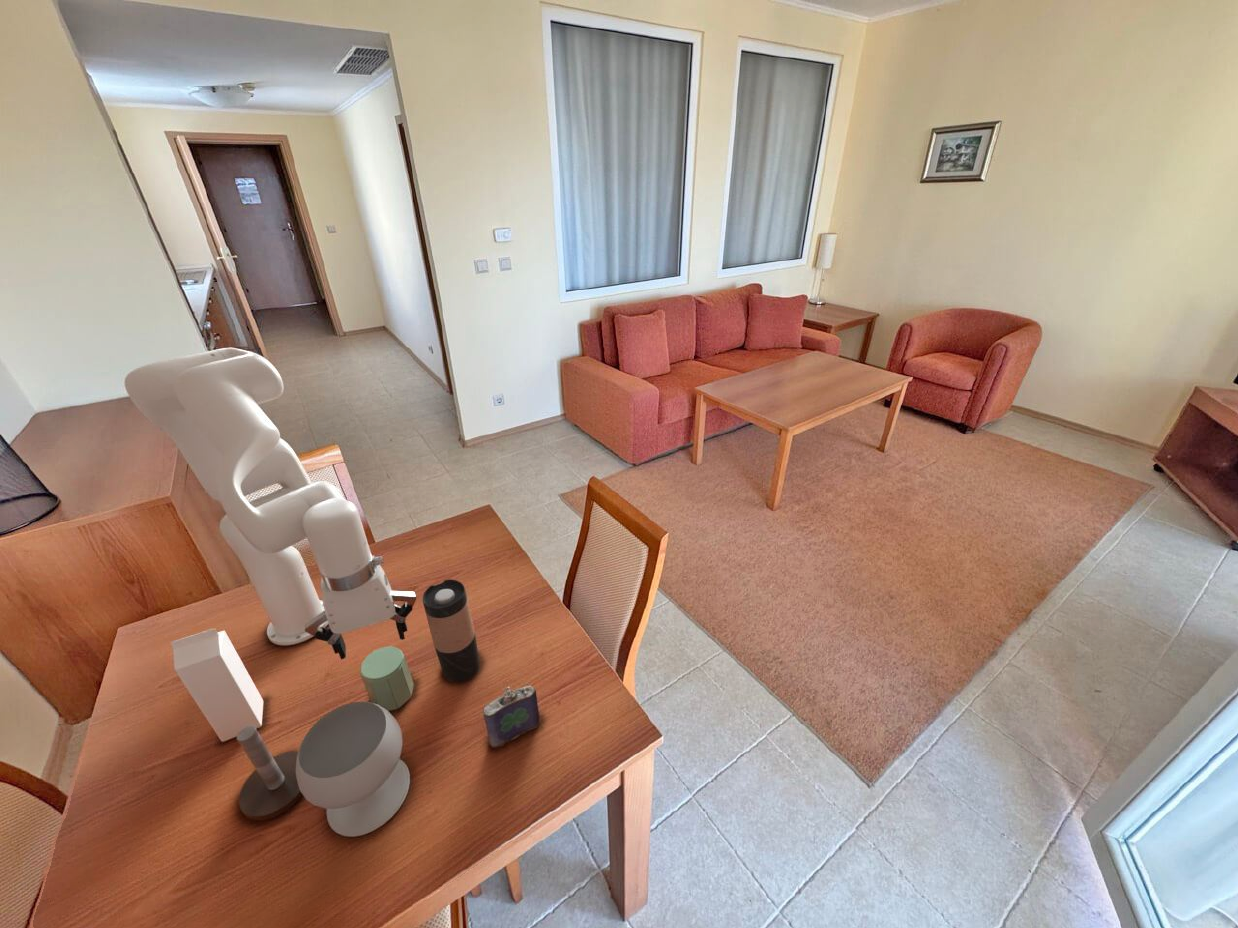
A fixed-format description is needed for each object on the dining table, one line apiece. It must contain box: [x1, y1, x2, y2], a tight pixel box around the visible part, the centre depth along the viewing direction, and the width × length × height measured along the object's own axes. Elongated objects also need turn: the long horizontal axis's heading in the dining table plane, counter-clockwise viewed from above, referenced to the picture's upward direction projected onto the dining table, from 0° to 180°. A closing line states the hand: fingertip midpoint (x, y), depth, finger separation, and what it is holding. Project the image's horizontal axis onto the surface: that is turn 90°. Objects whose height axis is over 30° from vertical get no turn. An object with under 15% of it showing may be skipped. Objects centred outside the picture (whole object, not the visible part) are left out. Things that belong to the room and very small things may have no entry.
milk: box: [169, 628, 264, 743], centre depth 85 cm, size 6×6×22 cm
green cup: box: [360, 645, 415, 712], centre depth 93 cm, size 7×7×9 cm
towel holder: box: [236, 726, 304, 821], centre depth 77 cm, size 10×10×14 cm
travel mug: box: [422, 579, 480, 683], centre depth 95 cm, size 8×8×20 cm
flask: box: [482, 685, 541, 749], centre depth 85 cm, size 9×3×11 cm, turn 121°
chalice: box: [296, 701, 411, 838], centre depth 75 cm, size 14×14×15 cm
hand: (373, 643), depth 89 cm, fingers open, 9 cm apart
